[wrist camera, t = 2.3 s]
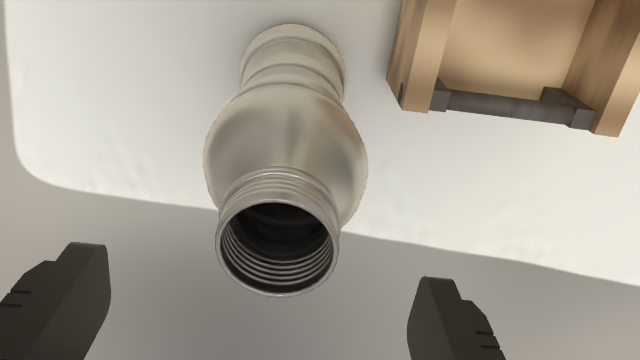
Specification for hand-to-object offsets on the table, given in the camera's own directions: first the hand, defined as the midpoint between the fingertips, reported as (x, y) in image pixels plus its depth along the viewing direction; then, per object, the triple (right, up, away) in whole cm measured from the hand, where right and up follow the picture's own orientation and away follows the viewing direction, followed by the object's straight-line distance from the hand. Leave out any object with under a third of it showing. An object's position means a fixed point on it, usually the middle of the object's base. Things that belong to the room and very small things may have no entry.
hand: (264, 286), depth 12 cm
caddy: (+13, +15, +17) cm, 26 cm away
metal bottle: (0, +10, +19) cm, 22 cm away
